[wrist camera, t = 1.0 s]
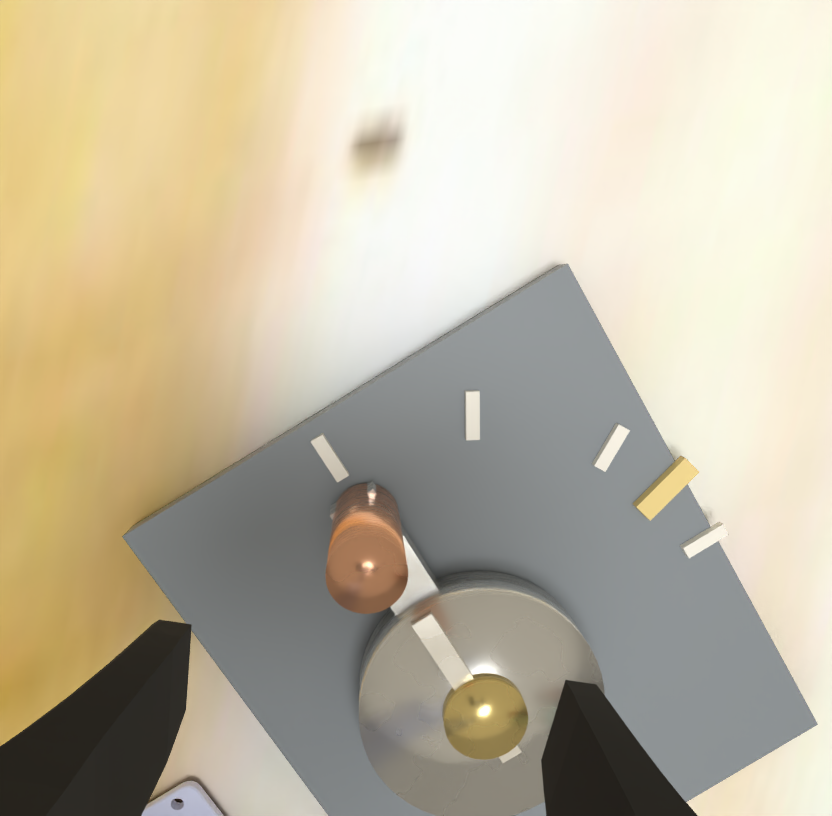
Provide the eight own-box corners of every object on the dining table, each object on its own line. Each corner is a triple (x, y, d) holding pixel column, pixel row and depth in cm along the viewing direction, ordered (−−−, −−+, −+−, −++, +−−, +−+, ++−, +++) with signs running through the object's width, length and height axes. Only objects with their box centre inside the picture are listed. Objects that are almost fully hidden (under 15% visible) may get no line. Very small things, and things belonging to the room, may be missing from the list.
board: (427, 927, 30) (431, 962, 28) (133, 525, 26) (118, 540, 24) (809, 701, 30) (834, 724, 28) (569, 258, 26) (583, 255, 24)
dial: (626, 708, 27) (691, 811, 22) (435, 822, 27) (452, 952, 22) (454, 424, 25) (479, 460, 19) (245, 551, 25) (212, 622, 20)
